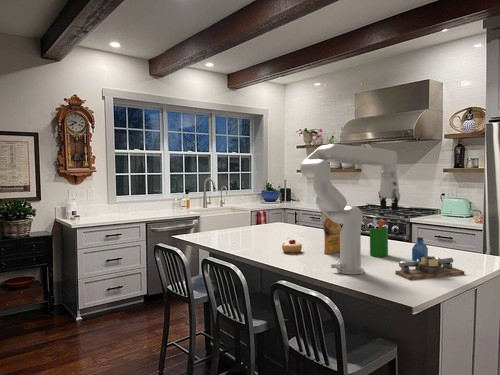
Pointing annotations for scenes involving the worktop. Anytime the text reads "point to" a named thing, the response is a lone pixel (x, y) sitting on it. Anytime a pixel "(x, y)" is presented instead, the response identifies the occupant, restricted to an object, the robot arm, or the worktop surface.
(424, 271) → the stand
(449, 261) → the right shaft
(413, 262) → the left shaft
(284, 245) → the pastry
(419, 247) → the perfume bottle
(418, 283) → the worktop surface
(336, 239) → the pancake mix bag
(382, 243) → the green bottle
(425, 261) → the coupling block
